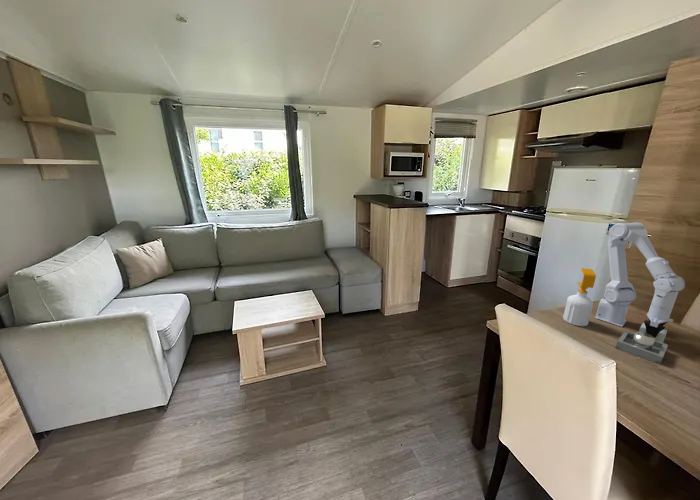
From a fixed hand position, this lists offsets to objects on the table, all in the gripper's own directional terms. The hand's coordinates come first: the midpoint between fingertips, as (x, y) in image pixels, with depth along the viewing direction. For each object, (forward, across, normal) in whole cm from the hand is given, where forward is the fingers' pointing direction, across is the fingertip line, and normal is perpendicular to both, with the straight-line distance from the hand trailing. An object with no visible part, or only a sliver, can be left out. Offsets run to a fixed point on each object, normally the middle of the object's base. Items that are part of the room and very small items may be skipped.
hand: (651, 336), depth 115 cm
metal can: (0, -12, +1) cm, 12 cm away
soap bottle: (+2, -7, +23) cm, 24 cm away
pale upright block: (+1, 0, 0) cm, 1 cm away
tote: (+1, -12, +1) cm, 12 cm away
